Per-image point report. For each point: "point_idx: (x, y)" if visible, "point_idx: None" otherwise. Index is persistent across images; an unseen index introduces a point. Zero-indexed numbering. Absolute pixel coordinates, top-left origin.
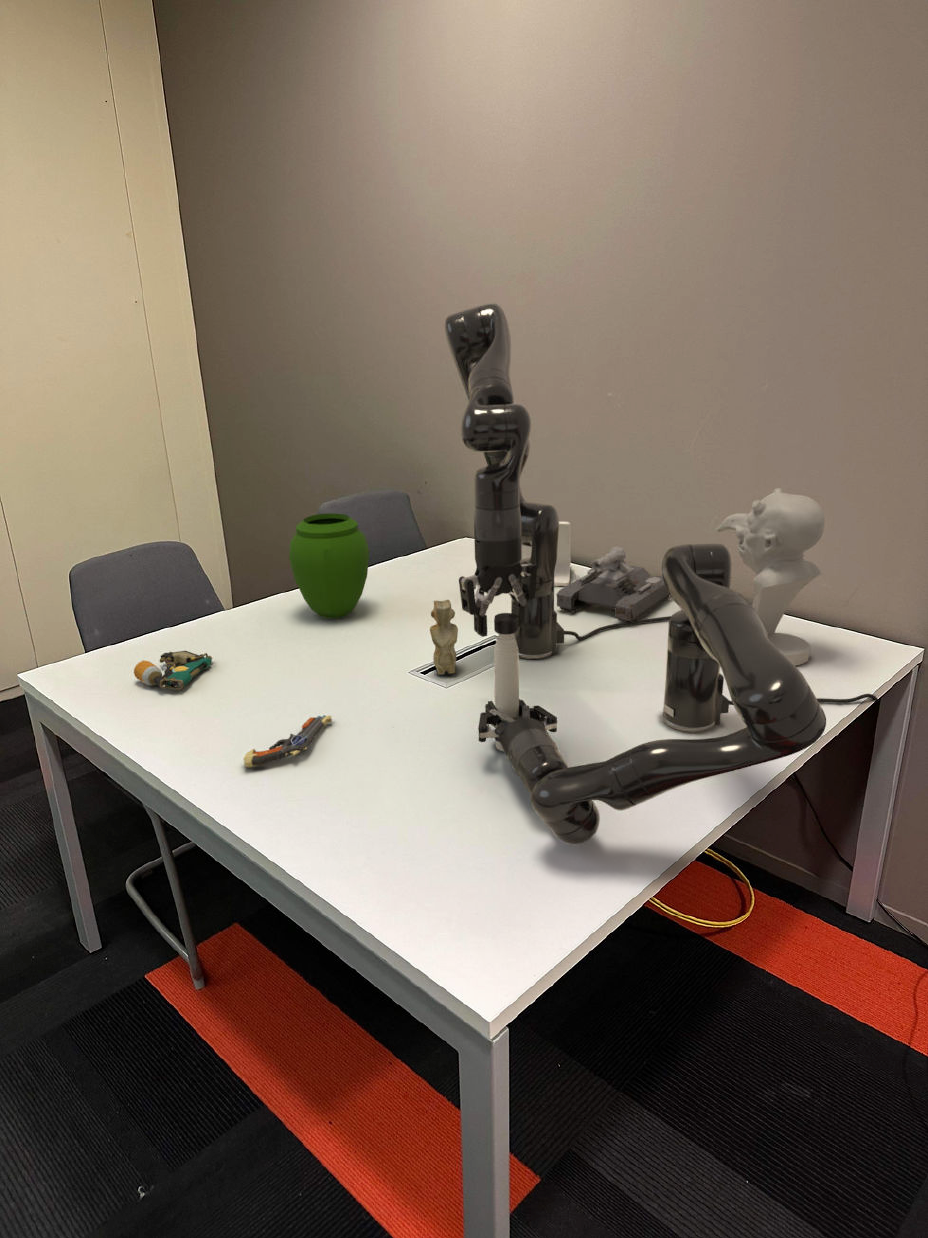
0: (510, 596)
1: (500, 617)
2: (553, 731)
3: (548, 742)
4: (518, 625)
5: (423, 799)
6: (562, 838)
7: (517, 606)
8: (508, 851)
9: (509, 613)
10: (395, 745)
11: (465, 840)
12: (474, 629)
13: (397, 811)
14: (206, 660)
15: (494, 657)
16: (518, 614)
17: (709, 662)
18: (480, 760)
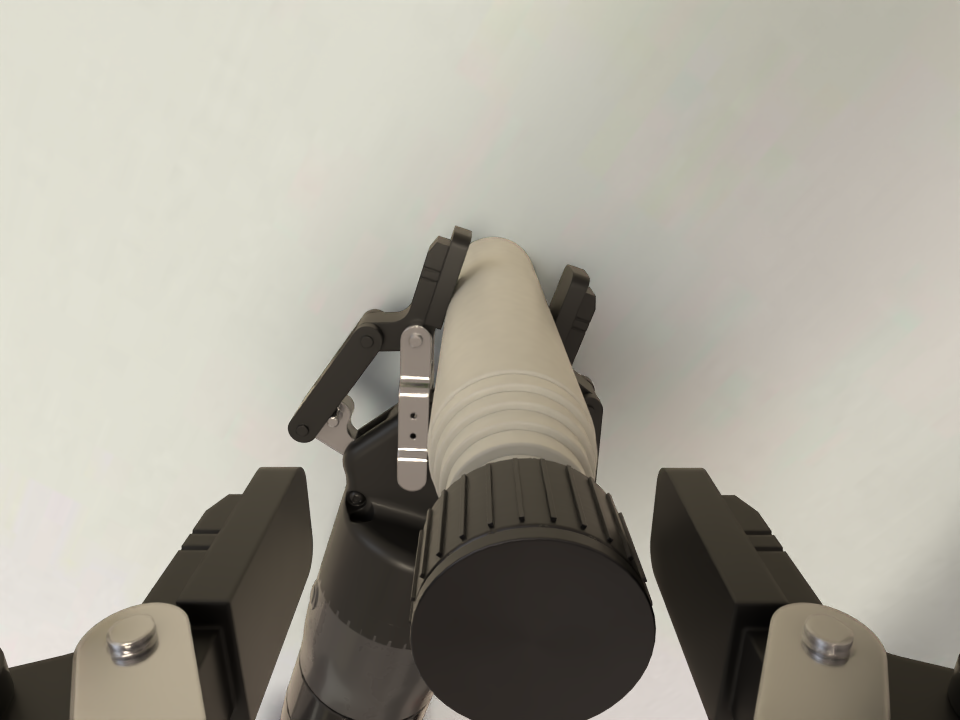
0: (758, 693)
1: (472, 629)
2: None
3: (400, 709)
4: (653, 564)
5: (109, 396)
6: None
7: (715, 708)
8: None
9: (626, 589)
10: (127, 21)
11: (148, 592)
12: (209, 512)
13: (19, 408)
14: None
15: (433, 407)
16: (685, 645)
17: None
18: (364, 305)
